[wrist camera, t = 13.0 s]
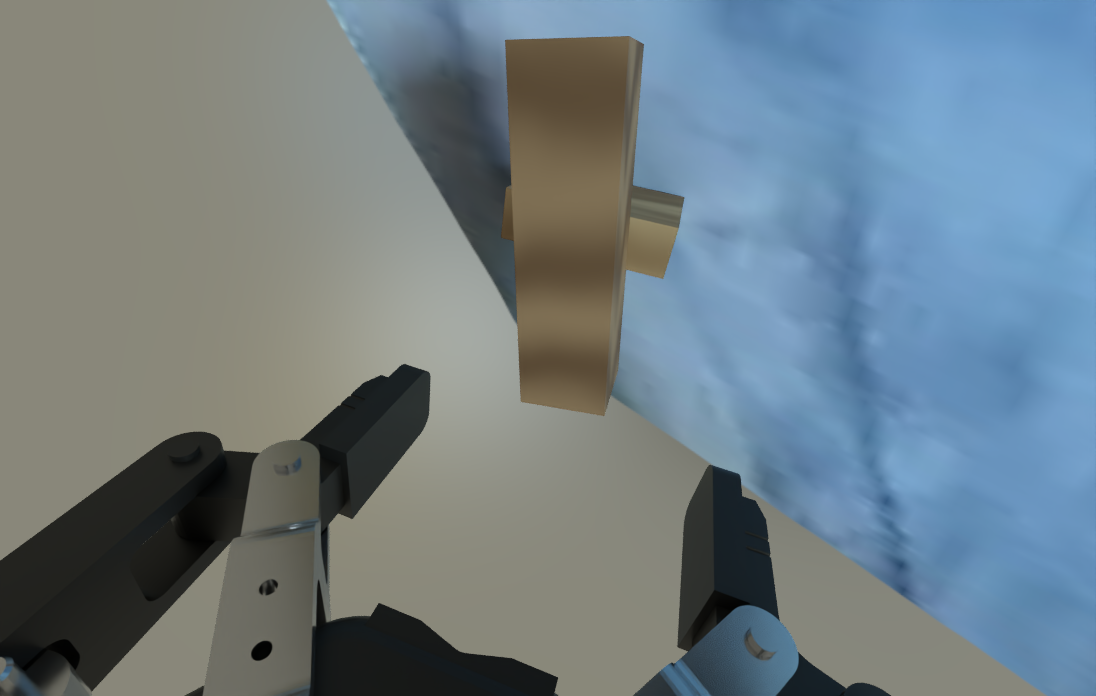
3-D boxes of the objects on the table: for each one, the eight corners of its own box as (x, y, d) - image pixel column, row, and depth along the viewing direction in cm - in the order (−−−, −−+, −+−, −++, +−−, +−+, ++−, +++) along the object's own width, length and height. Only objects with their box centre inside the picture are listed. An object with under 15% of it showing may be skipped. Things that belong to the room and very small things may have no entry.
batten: (541, 46, 23) (505, 39, 19) (643, 44, 22) (629, 36, 18) (544, 359, 32) (520, 401, 28) (617, 370, 31) (604, 415, 27)
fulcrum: (545, 166, 34) (506, 187, 27) (684, 197, 32) (678, 228, 26) (539, 207, 35) (500, 237, 29) (671, 239, 34) (663, 278, 27)
